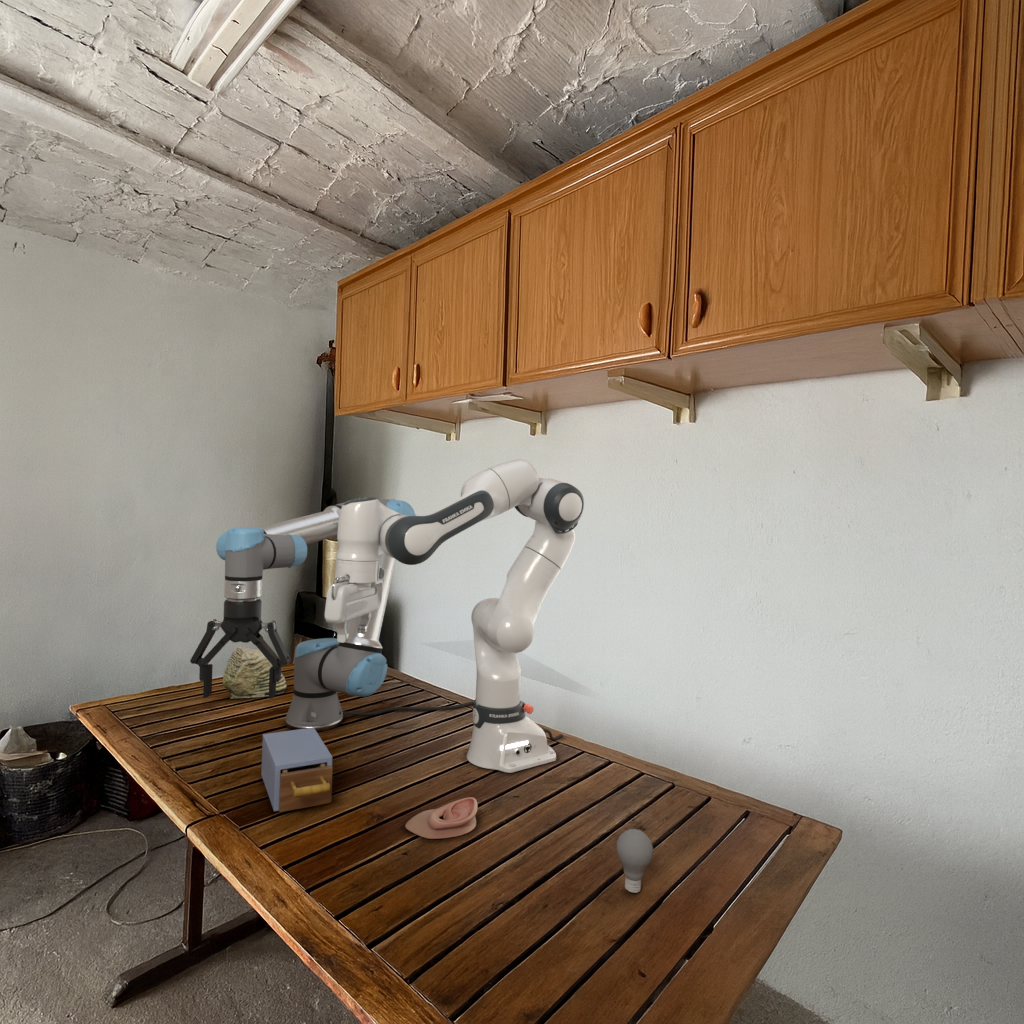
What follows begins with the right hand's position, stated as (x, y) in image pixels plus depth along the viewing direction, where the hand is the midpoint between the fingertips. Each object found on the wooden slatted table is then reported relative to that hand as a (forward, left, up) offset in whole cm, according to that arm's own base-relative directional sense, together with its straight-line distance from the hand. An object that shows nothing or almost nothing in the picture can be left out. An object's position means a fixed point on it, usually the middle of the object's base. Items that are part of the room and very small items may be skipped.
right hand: (352, 637), depth 135 cm
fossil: (+14, -75, -34) cm, 84 cm away
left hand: (+21, -12, -14) cm, 28 cm away
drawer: (+9, 0, -33) cm, 34 cm away
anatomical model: (-15, +20, -34) cm, 42 cm away
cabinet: (+10, -6, -34) cm, 36 cm away
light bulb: (-38, +51, -34) cm, 72 cm away
